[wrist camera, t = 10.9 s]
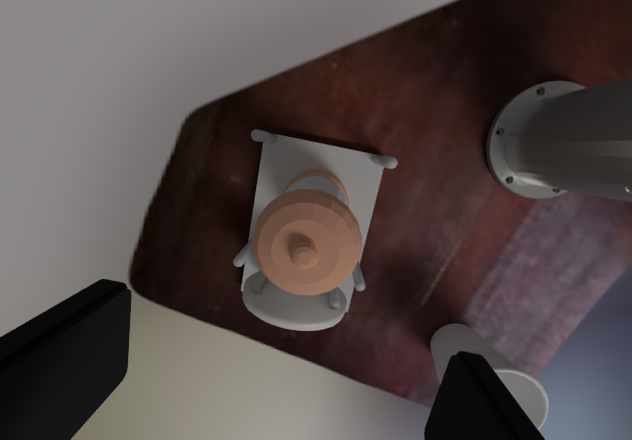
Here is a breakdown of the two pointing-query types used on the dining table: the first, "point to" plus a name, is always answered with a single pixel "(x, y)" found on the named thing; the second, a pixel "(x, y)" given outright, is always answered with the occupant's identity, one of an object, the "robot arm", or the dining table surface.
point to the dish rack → (274, 176)
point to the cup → (513, 377)
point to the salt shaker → (308, 235)
